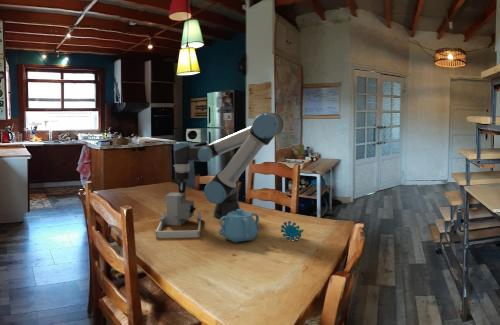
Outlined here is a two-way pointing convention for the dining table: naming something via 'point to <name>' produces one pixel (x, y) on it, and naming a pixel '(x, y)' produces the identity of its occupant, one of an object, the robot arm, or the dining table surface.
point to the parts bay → (177, 233)
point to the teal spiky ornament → (291, 230)
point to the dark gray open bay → (166, 219)
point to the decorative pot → (239, 226)
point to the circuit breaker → (178, 208)
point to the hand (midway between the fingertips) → (182, 215)
